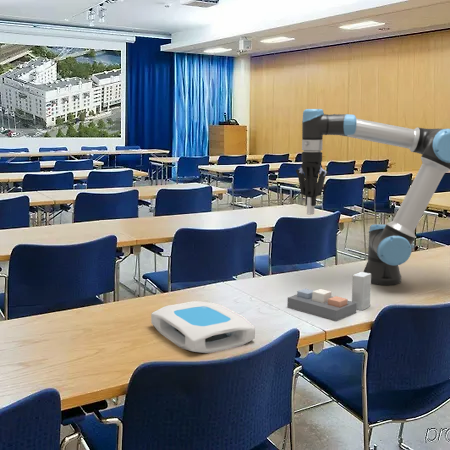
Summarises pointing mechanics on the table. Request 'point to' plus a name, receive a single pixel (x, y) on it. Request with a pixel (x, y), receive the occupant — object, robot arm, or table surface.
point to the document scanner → (202, 326)
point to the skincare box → (361, 290)
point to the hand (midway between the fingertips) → (310, 214)
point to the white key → (321, 295)
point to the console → (321, 308)
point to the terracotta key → (337, 301)
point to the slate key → (305, 293)
